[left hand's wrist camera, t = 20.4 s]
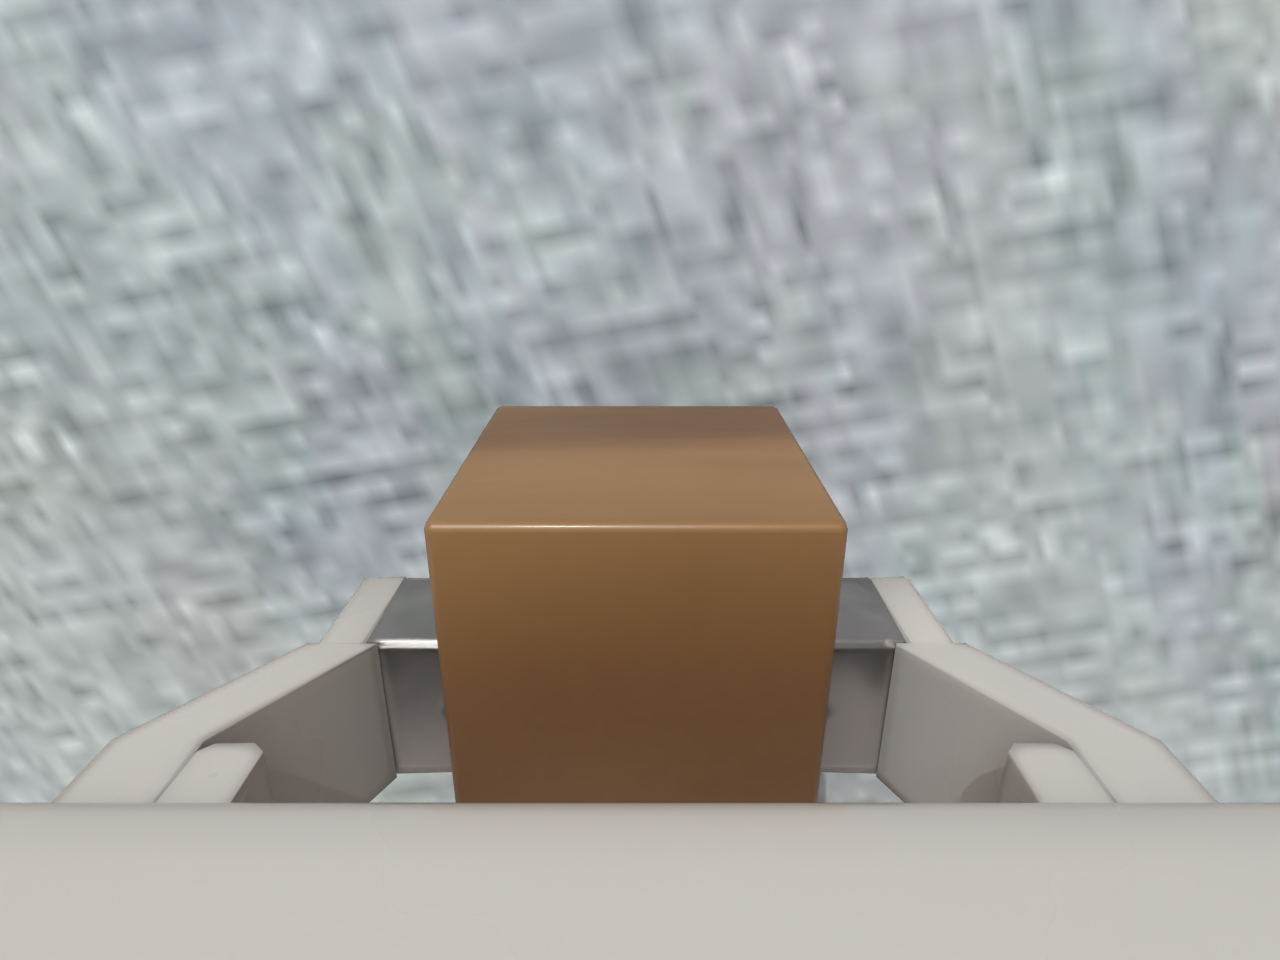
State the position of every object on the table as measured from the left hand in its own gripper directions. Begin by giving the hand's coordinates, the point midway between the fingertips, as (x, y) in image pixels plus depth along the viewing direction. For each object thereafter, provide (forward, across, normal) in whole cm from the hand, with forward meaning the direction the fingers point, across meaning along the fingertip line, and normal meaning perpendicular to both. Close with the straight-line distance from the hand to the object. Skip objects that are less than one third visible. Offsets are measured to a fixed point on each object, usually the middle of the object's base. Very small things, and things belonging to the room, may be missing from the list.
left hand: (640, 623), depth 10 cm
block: (+2, 0, 0) cm, 2 cm away
